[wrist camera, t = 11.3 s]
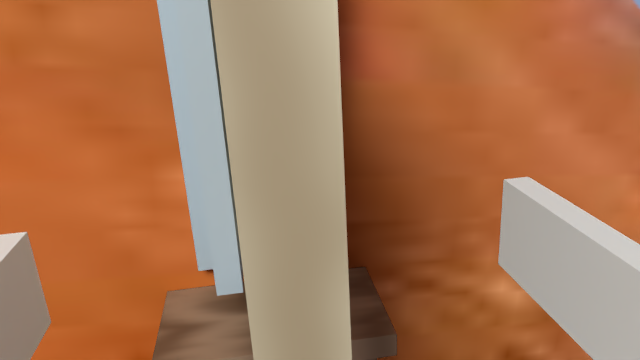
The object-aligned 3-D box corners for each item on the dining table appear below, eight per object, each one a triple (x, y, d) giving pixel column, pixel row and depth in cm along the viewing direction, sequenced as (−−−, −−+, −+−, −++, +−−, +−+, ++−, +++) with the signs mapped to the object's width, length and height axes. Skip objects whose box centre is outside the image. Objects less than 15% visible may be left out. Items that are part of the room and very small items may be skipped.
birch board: (253, 223, 35) (282, 605, 13) (225, -40, 29) (195, -119, 8) (284, 220, 35) (361, 589, 13) (261, -42, 29) (332, -123, 8)
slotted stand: (199, 263, 36) (192, 314, 30) (144, -96, 28) (122, -116, 23) (342, 246, 37) (361, 291, 32) (327, -103, 30) (349, -124, 24)
